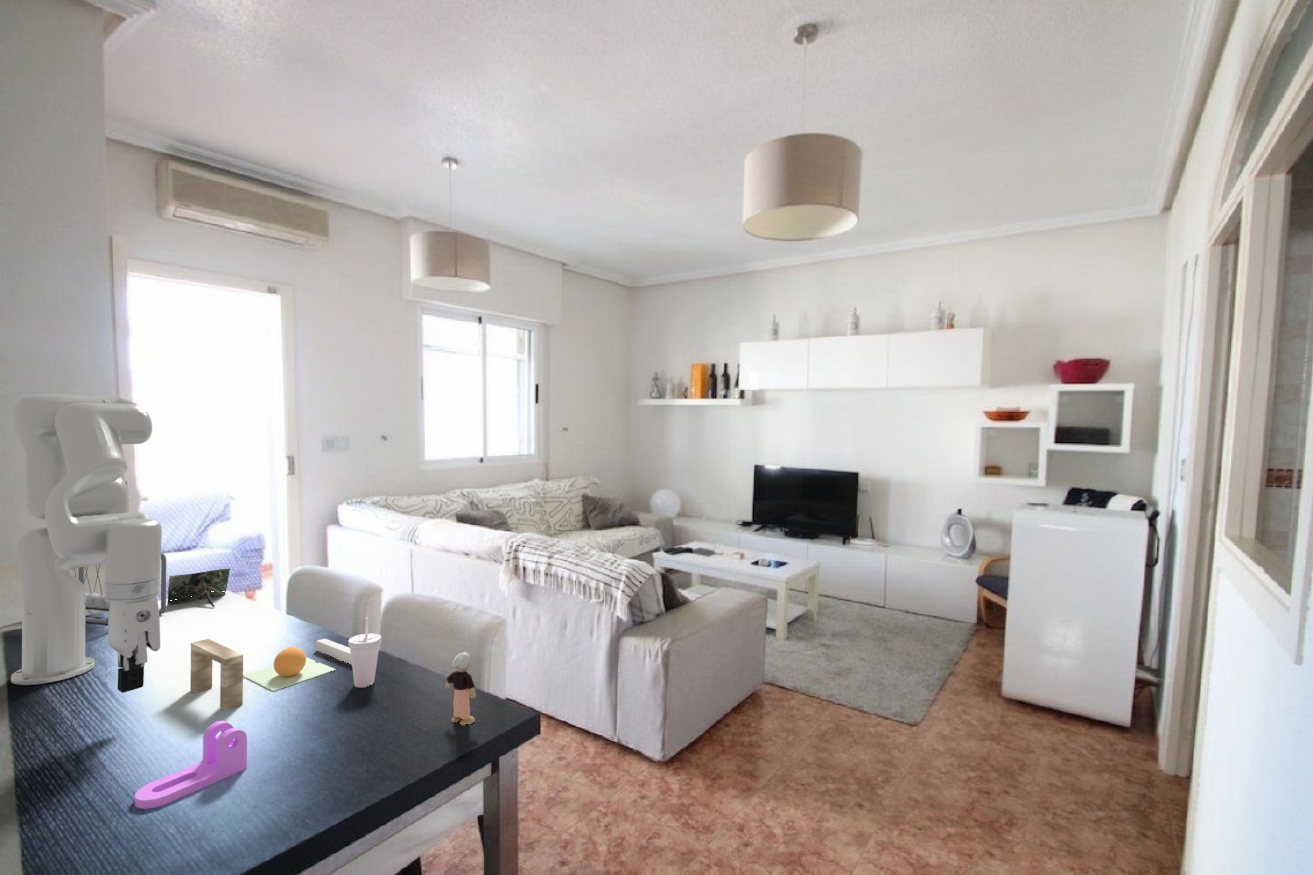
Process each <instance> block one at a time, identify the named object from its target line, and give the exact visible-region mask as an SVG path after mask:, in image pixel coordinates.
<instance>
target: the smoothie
mask: <svg viewBox="0 0 1313 875" xmlns="http://www.w3.org/2000/svg"><path fill="white" fill-rule="evenodd" d="M364 628H365V629H364V630H365V632H364V633H362V634H361V633H360V634H357V635H354V636H352V637H350V638H349V639H348V640H347V642H348V644H347V647H349V648H350V652H351V660H352V665H351V666H352V674H353V684H354V687H355V688H359V689H360V688H367V686H368V687H370V686H369V685H371V686H372V685H373V683H374V684H375V680H376V679H375V678H376V672H377V665H378V658H379V651H380V644H381V643H382V636H381V634H379V633H374V632H373V633H372V632H371V633H369V616H365V624H364Z"/></svg>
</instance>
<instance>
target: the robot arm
mask: <svg viewBox="0 0 1313 875" xmlns="http://www.w3.org/2000/svg"><path fill="white" fill-rule="evenodd" d="M12 422H13V427H14V429H15V432H16V434H17V437H18V439H19V441H20V443H21V445H22V447H23V450H24V453H25V459H26V460H25V461H26V462H25V464H26V466H25V468H26V469H25V471H26V472H25V474H26V477H25V478H26V479H25V480H26V482H25V483H26V489H25V490H26V491H25V492H26V498H25V499H26V507H27V511H28V513H29V514H30V516H31V517H32V518H34V519H37V520H43V521H45V525H46V526H44V527H37V528H35V529H31V530H28V531H27V532H25V533H24V534H22V535H20V537H19V538H18V539H17V542H16V544H15V552H16V558H17V563H18V567H19V573H20V578H21V579H20V581H21V594H22V595H21V597H22V599H21V601H22V602H21V605H22V606H21V608H22V609H21V612H22V613H21V614H22V615H21V617H22V618H21V619H22V621H21V622H22V623H21V624H22V625H21V627H22V628H21V668H20V669H18V670H16V671H15V672H13V673H12V674H11V675H10V676H11V677H10V682H11V683H12V684H14V685H19V686H32V685H33V686H34V685H35V686H36V685H44V684H48V683H49V684H50V683H54V682H59V681H63V680H68V679H71V678H73V677H74V678H75V677H77V676H79V675H83V674H85V673H87V672H88V671H90V670H92V669H93V668H94V667H95V664H96V660H95V659H94V658H92V657H90V656H89V657H87V656H86V622H85V617H86V613H87V612H86V593H87V592H86V588H85V584H84V585H83V583H82V582H81V581H80V580H79V579H78V578H76V577H77V576H76V577H75V576H74V575H73V574H72V573H71V572H70V570H74V569H75V570H76V569H79V567H84V568H85V566H86V567H87V566H88V567H91V566H95V565H96V566H99V564H100V565H104V566H105V570H104V593H105V601H106V602H109V603H110V605H109V610H108V618H107V620H108V624H107V641H108V642H107V643H108V645H109V647H110V648H111V649H112V650H114V651H116V652H117V667H118V668H117V690H118V691H119V692H120V693H122V694H123V693H127V692H130V691H135V690H137V689H141V688H143V687H144V683H145V680H144V679H145V678H144V677H145V664H146V663H148V650H147V648H148V649H150V650H151V651H153V652H157V651H159V650H160V649H161V621H160V620H161V619H160V615H159V610H160V608H159V602H158V601H159V600H158V596H160V595H161V552H162V537H163V536H162V535H163V534H162V533H163V531H162V530H163V529H162V524H161V523H160V522H159V521H158V520H155V519H153V518H152V517H151V516H150V515H149V514H147V513H145V512H141V511H139V512H137V511H133V512H130V509H129V508H130V507H129V506H130V505H129V502H130V501H129V490H128V486H127V484H126V482H125V480H124V479H123V478H122V477H123V476H124V475H125V474H126V472H127V470H128V462H127V460H126V457H125V453H124V451H123V450H124V449H123V448H122V445H141V444H144V443H147V441H148V440H150V437H151V435H152V434H153V423H152V419H151V417H150V414H149V413H148V411H147V410H146V409H145V408H144V406H142V405H141V404H138V403H137V402H134V401H131V400H128V399H127V398H122V397H116V396H102V395H78V394H65V393H64V394H59V393H57V394H56V393H55V394H54V393H46V394H45V393H44V394H43V393H42V394H41V393H39V394H31V395H26V396H22V397H21V398H19V399H18V400H17V401H15V403H14V406H13V410H12ZM76 675H77V676H76Z"/></svg>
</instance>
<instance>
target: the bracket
mask: <svg viewBox="0 0 1313 875" xmlns="http://www.w3.org/2000/svg"><path fill="white" fill-rule="evenodd" d="M219 733H220V734H219ZM218 734H219V735H218ZM217 735H218V736H217ZM247 757H248V734H247V733H246V732H245V731H244V730H242V729H240V728H238V727H234V726H233V724H232V723H229V722H228V721H225V720H219V721H218V720H217V721H215V722H213V723H211V724H210V725H209V726H208V727H207V728H206V729H205V731H204V734H203V736H202V760H201V761H200V762H198V763H195V764H193V765H191V766H187V767H185V768H183V769H181V770H179V771H176V772H174V773H171V774H168V775H166V776H164V777H162V778H158V779H157V780H154V781H151V782H149V783H147V784H145V785H143V786H142V787H140V788H139V789H138V790H136V792H135V794H134V806H135V807H136V808H138V809H142V810H143V809H146V810H147V809H154V808H157V807H161V806H165V805H167V804H169V803H172V802H174V801H176V800H179V799H181V798H183V797H185V796H187V795H190V794H192V793H194V792H196V791H199V790H201V789H204V788H206V787H208V786H210V785H213V784H214V783H217V782H220V781H222V780H223V779H227V778H229V777H231V776H233V775H235V774H238V773H240V772H242V771H245V770H247V767H248V765H247V764H248V762H247V761H248V758H247Z"/></svg>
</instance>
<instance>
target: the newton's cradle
mask: <svg viewBox="0 0 1313 875" xmlns="http://www.w3.org/2000/svg"><path fill="white" fill-rule="evenodd" d="M94 566H95V570H96V574H97V575H96V579H95V584H94V589H93V591H92V590H91V585H90V580H89V576H88V569H89V566H85V567H79V568H78V574H76V568H75V569H73V572H74V575H75V576H74V577H76V578H77V575H78V578H77V579H79V580H80V581H81V582H82V583H83V585H84V586H85V581H86V580H87V583H88V588H89V593H88V592H86V608H87V609H96V610H97V609H98V610H105V611H106V610H107V611H109V605H110V603H109V602H106V601H105V592H103V590H102V586H101V581H100V576H99V571H100V567H101V564H99V565H94ZM97 581H98V582H99V583H98V584H99V588H100V592H101V594H100V593H96V592H95V590H96V585H97ZM166 609H167V557H166V554H165V553H164V552H162V551H161V572H160V608H159V616H160V615H162V614H164V612H166ZM85 623H91V624H92V623H94V624H103V625H104V624H105V625H108V618H107V619H105V618H98V617H97V618H95V617H87V616H85Z"/></svg>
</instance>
